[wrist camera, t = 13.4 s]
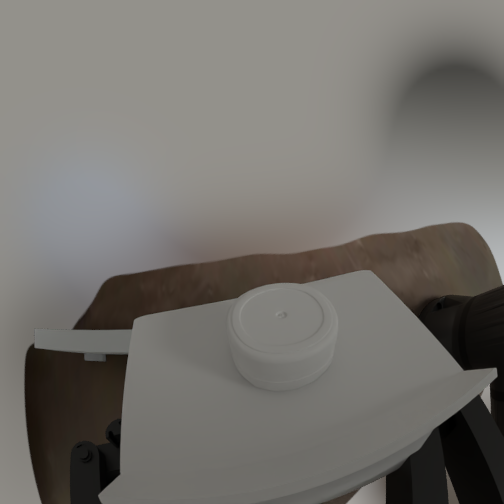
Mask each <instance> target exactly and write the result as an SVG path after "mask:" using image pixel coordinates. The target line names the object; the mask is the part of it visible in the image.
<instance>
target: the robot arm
mask: <svg viewBox="0 0 504 504" xmlns="http://www.w3.org/2000/svg"><path fill="white" fill-rule="evenodd" d="M418 319H419V320H420V321H421V322H422V323H423V324H424V325H425V327H426V328H427V329H428V330H429V331H430V332H431V333H432V334H433V335H434V337H435V338H436V339H437V340H438V341H439V342H440V343H441V344H442V346H443V347H444V348H445V349H446V350H447V351H448V352H449V354H450V355H451V356H452V357H453V358H454V359H455V361H456V362H457V363H458V364H459V365H460V367H461V368H462V369H463V371H467V370H478V369H488V368H497V377H496V378H495V379H494V380H493V381H492V382H491V383H490V398H491V414H490V412H489V411H488V409H487V407H486V405H485V404H484V402H483V401H482V399H481V397H480V396H479V394H478V395H477V396H476V397H475V398H473V399H472V400H471V401H470V402H469V403H467V404H466V405H465V406H464V407H463V408H461V409H460V410H459V411H457V412H456V413H455V414H454V415H452V416H451V417H450V418H448V419H447V420H446V421H444V422H443V423H441V424H440V425H439V426H437V427H436V428H434V429H433V431H432V432H431V434H430V435H429V437H428V438H427V440H426V441H425V442H424V444H423V445H422V446H421V448H420V449H419V450H418V451H416V452H415V453H413V454H411V455H410V456H409V457H408V458H407V459H406V461H405V462H404V463H403V464H402V465H401V466H400V468H399V469H397V470H395V471H393V472H391V473H390V474H388V475H386V504H448V490H447V479H446V470H445V467H446V469H447V472H448V474H449V477H450V479H451V482H452V485H453V487H454V490H455V493H456V496H457V498H458V501H459V504H504V285H502V286H500V287H497V288H495V289H492V290H490V291H487V292H485V293H482V294H480V295H477V296H474V297H470V296H460V295H446V296H443V297H440V298H438V299H435V300H433V301H432V302H430V303H429V304H428V305H427V306H426V307H425V308H424V310H423V311H422V313H421V314H420V316H419V318H418ZM121 422H122V419H117V420H115V421H113V422H111V424H110V425H109V426H108V427H107V430H106V438H107V439H108V440H109V441H110V442H111V443H107V444H102V445H98V446H96V445H94V444H93V443H91V442H89V441H82V442H79V443H77V444H76V445H75V446H74V447H73V449H72V452H71V465H70V496H71V504H102V503H101V501H100V499H99V497H98V495H99V494H100V493H101V492H102V491H103V490H104V489H105V488H106V487H107V486H108V485H109V484H111V483H112V482H113V481H114V480H115V479H116V478H117V477H118V476H119V475H120V444H121Z"/></svg>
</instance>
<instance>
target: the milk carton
mask: <svg viewBox="0 0 504 504" xmlns="http://www.w3.org/2000/svg"><path fill="white" fill-rule="evenodd" d="M496 377H497V368H488V369H478V370H467V371H463V369H462V368H461V367H460V365H459V364H458V363H457V362H456V361H455V359H454V358H453V357H452V356H451V355H450V354H449V352H448V351H447V350H446V349H445V348H444V347H443V346H442V344H441V343H440V342H439V341H438V340H437V339H436V338H435V337H434V335H433V334H432V333H431V332H430V331H429V330H428V329H427V328H426V327H425V325H424V324H423V323H422V322H421V321H420V320H419V319H418V318H417V317H416V316H415V315H414V314H413V313H412V312H411V310H410V309H409V308H408V307H407V306H406V305H405V304H404V303H403V302H402V301H401V300H400V299H399V298H398V297H397V296H396V295H395V294H394V293H393V292H392V291H391V290H390V289H389V288H388V287H387V286H386V285H385V284H384V283H383V282H382V281H381V280H380V279H379V278H378V277H377V276H376V275H375V274H374V273H373V272H372V271H370V270H362V271H356V272H352V273H347V274H343V275H339V276H335V277H330V278H326V279H322V280H318V281H313V282H309V283H305V284H297V283H276V284H270V285H265V286H261V287H258V288H255V289H253V290H250V291H248V292H246V293H244V294H242V295H241V296H240V297H239V298H235V299H230V300H225V301H220V302H215V303H210V304H204V305H199V306H194V307H188V308H183V309H177V310H172V311H166V312H160V313H155V314H150V315H145V316H141V317H139V318H137V319H135V320H134V323H133V328H132V334H131V340H130V347H129V354H128V361H127V369H126V377H125V386H124V396H123V408H122V422H121V444H120V475H119V476H118V477H117V478H116V479H115V480H114V481H113V482H112V483H111V484H109V485H108V486H107V487H106V488H105V489H104V490H103V491H102V492H101V493H100V494H99V495H98V497H99V499H100V501H101V503H102V504H320V503H323V502H326V501H329V500H332V499H334V498H337V497H340V496H342V495H345V494H347V493H349V492H352V491H354V490H357V489H359V488H361V487H363V486H365V485H368V484H370V483H372V482H374V481H376V480H378V479H380V478H382V477H384V476H386V475H388V474H390V473H391V472H393V471H395V470H397V469H399V468H400V466H401V465H402V464H403V463H404V462H405V461H406V459H407V458H408V457H409V456H410V455H411V454H413V453H415V452H416V451H418V450H419V449H420V448H421V446H422V445H423V444H424V442H425V441H426V440H427V438H428V437H429V435H430V434H431V432H432V431H433V429H434V428H436V427H437V426H439V425H440V424H441V423H443V422H444V421H446V420H447V419H448V418H450V417H451V416H452V415H454V414H455V413H456V412H457V411H459V410H460V409H461V408H463V407H464V406H465V405H466V404H467V403H469V402H470V401H471V400H472V399H473V398H475V397H476V396H477V395H478V394H479V393H480V392H481V391H483V390H484V389H485V388H486V387H487V386H488V385H489V384H490V383H491V382H492V381H493V380H494V379H495V378H496Z"/></svg>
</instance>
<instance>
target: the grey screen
mask: <svg viewBox="0 0 504 504" xmlns="http://www.w3.org/2000/svg"><path fill="white" fill-rule="evenodd" d="M131 334H132V330H58V329H57V330H56V329H34V336H35V337H34V338H35V339H34V340H35V348H40V349H48V350H56V351H66V352H77V353H84V357H85V360H87V361H106V354H129V347H130V340H131Z"/></svg>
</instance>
